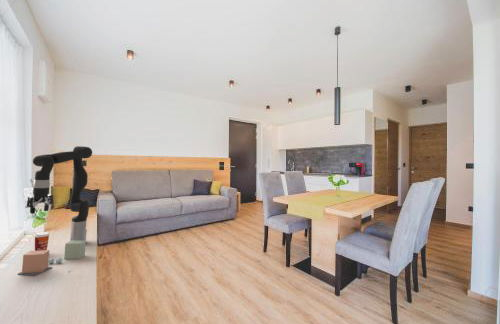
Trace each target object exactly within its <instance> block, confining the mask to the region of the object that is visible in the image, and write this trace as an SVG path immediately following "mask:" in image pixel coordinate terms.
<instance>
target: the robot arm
mask: <svg viewBox="0 0 500 324" xmlns="http://www.w3.org/2000/svg"><path fill="white" fill-rule="evenodd" d="M92 155H93V150H92V149H91V148H90V147H88V146H83V145H81V146H80V145H79V146H78V145H77V146H75V147H73V149H72V151H71V150H70V151H60V152H55V153H51V154H50V153H49V154H39V155H37V156H35V157H34V158H32V164H33V165H34V166H36V167H39V168H40V167H41V169H40V170H36V171H35V172H34V173H35V174H34V181H33V187H32V188H33V190H32V194H33V196H28V197H27V202H26V207H27V208H29V213H30V214H31V215H33V214H34V215H35V213H36V207H37V206H38V205H39V204H41V203H42V204H43V205H44V206H43V211H44V212H48V211H49V208H50V205H52V204H53V201H54V200H53V198H54V197H53V194H50V185H51V183H50V182H51V181H50V178H51V173H52V171H53V168H54V165H55V164H61V163H65V162H69V161H72V167H73V170H72V190H71V198H70V203H69V204H70V205H69V209H70V211H71V212H74V213H77V214H78V215H76V216H73V217H72V218H71V227H70V237H69V239H70V240H69V242H70V241H86V242H87V231H88V229H87V221H88V220H87V219H88V217H89V216H88V215H89V211H90V210H89V209H90V202H89V201H88V200H85V199H84V200H83V199H81V194H82V192H83V190H84V189H85V188H86V186H87V185H88V176H89V175H88V173H87V171H86V169H85V167H84V165H83V159H89V158H91V157H92Z"/></svg>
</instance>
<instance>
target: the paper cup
mask: <svg viewBox="0 0 500 324" xmlns="http://www.w3.org/2000/svg"><path fill="white" fill-rule="evenodd" d="M50 235H51V234H50V232H49V231H41V232H37V233H35V234H34V235H33V236H34V251H42V250H48V246H49V238H50Z"/></svg>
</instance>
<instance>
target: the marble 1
mask: <svg viewBox="0 0 500 324" xmlns="http://www.w3.org/2000/svg"><path fill="white" fill-rule="evenodd" d="M54 262H56V260H55V258H53V257H52V258H51V257H50V258H49V262H48V264H53V263H54Z"/></svg>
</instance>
